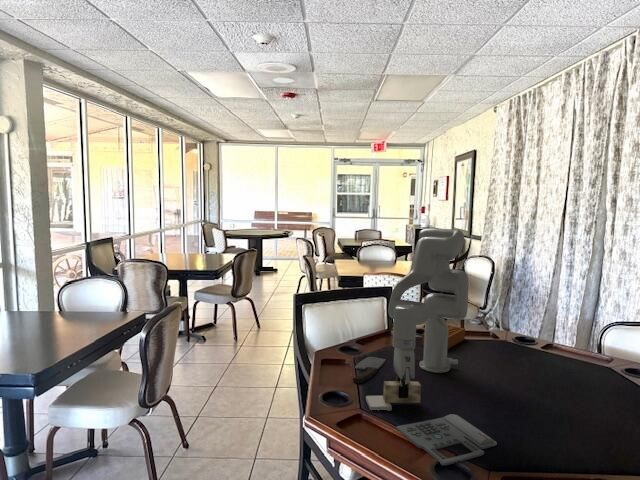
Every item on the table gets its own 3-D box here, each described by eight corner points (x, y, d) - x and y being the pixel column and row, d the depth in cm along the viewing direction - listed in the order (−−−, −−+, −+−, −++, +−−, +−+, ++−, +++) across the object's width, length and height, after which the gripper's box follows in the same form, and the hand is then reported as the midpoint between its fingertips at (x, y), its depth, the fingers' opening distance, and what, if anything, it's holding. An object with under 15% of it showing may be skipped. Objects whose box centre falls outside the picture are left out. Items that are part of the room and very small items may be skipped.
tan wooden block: (417, 398, 143) (418, 381, 143) (420, 402, 140) (421, 385, 140) (382, 398, 142) (383, 381, 142) (385, 402, 139) (386, 385, 139)
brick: (442, 334, 224) (443, 324, 224) (464, 339, 217) (465, 328, 216) (421, 345, 205) (422, 333, 205) (444, 351, 198) (445, 339, 197)
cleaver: (366, 386, 156) (366, 380, 156) (341, 380, 160) (341, 375, 160) (387, 361, 183) (387, 356, 183) (365, 357, 187) (365, 352, 187)
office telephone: (456, 410, 135) (506, 442, 116) (456, 418, 135) (506, 451, 116) (396, 422, 125) (440, 459, 107) (395, 430, 125) (439, 468, 107)
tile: (385, 395, 145) (365, 395, 144) (391, 406, 137) (370, 406, 136) (385, 400, 145) (365, 400, 144) (391, 411, 137) (370, 411, 136)
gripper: (422, 350, 132) (420, 406, 133) (408, 334, 148) (405, 384, 149) (399, 350, 131) (397, 406, 133) (387, 334, 147) (385, 385, 149)
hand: (401, 394), depth 141 cm, fingers closed on tan wooden block, 3 cm apart
